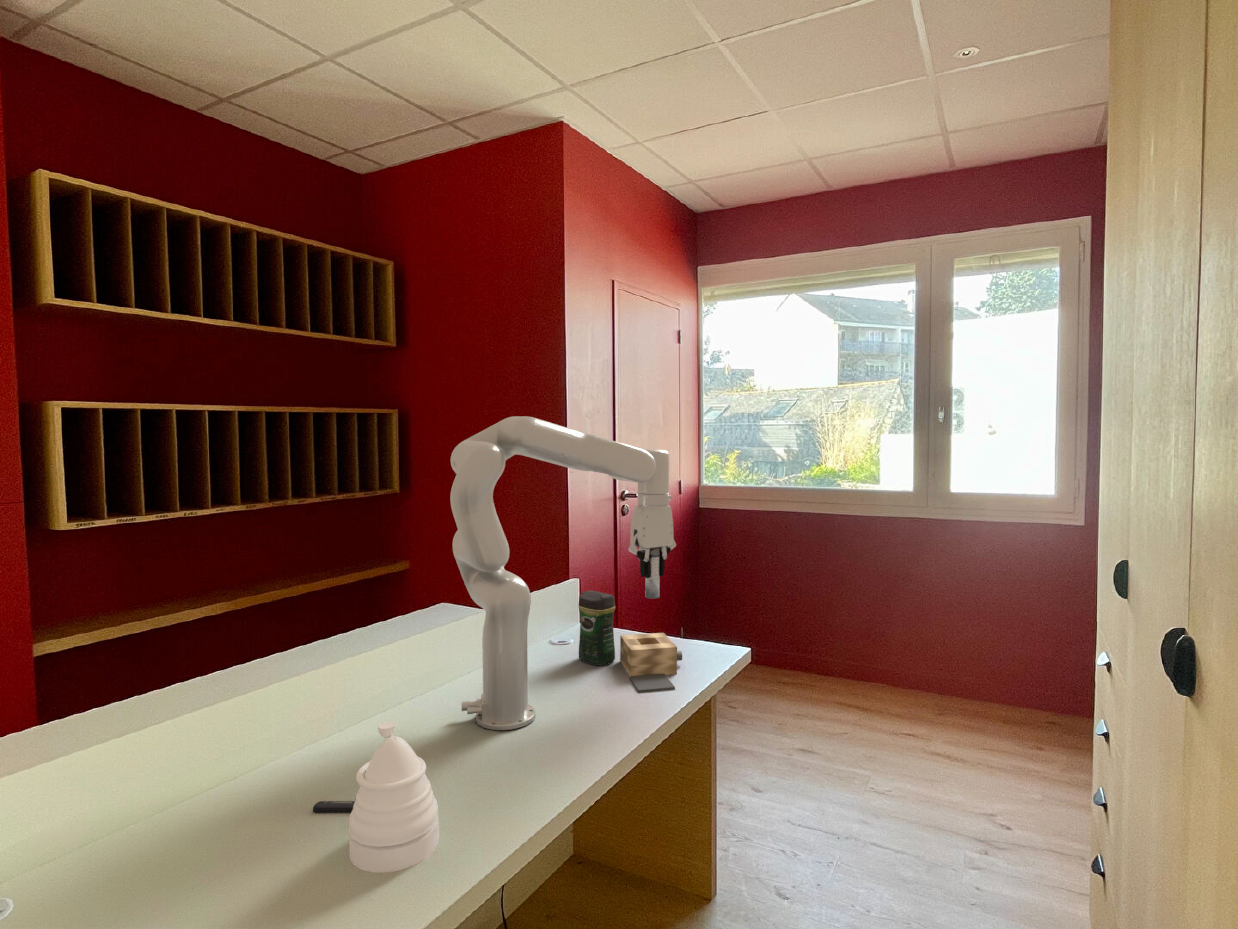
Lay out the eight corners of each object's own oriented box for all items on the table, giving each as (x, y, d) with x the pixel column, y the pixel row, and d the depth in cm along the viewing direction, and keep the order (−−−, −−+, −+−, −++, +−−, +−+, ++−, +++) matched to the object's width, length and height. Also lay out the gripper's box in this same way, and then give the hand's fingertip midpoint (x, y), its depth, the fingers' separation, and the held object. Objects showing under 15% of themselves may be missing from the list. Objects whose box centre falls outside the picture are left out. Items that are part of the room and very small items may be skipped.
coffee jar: (620, 660, 184) (620, 592, 182) (599, 668, 178) (600, 598, 176) (593, 652, 190) (593, 586, 189) (573, 660, 184) (573, 591, 183)
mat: (638, 692, 162) (638, 690, 162) (629, 678, 171) (629, 676, 171) (674, 689, 164) (674, 687, 164) (664, 675, 173) (664, 673, 173)
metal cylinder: (642, 596, 166) (642, 547, 166) (653, 594, 168) (653, 546, 168) (651, 599, 164) (651, 549, 163) (662, 597, 166) (662, 548, 165)
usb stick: (375, 806, 115) (375, 797, 114) (370, 815, 112) (370, 806, 112) (318, 807, 114) (318, 798, 114) (311, 816, 112) (311, 807, 112)
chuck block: (630, 677, 171) (631, 650, 171) (620, 661, 183) (620, 635, 183) (688, 673, 175) (688, 646, 174) (674, 657, 186) (674, 632, 186)
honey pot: (335, 844, 104) (332, 728, 103) (413, 810, 113) (411, 704, 112) (372, 885, 95) (370, 759, 94) (454, 845, 104) (453, 729, 103)
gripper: (671, 497, 172) (670, 569, 173) (615, 501, 163) (615, 577, 164) (689, 500, 166) (688, 575, 167) (633, 504, 157) (632, 583, 158)
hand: (652, 575), depth 166 cm, fingers closed on metal cylinder, 3 cm apart
